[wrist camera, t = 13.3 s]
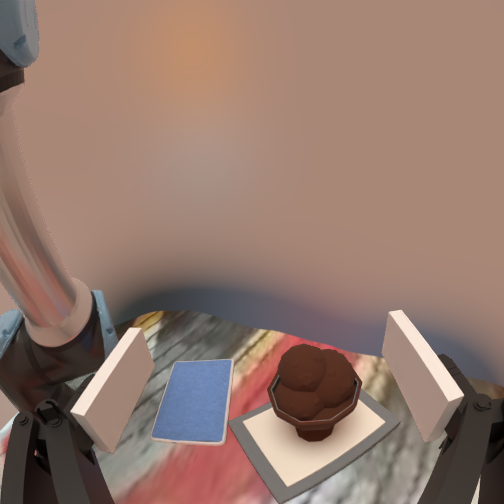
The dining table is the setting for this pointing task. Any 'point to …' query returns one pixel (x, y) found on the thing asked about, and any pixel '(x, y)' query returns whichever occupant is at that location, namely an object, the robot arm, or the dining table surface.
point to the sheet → (308, 453)
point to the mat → (286, 494)
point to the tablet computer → (195, 404)
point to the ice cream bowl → (314, 390)
